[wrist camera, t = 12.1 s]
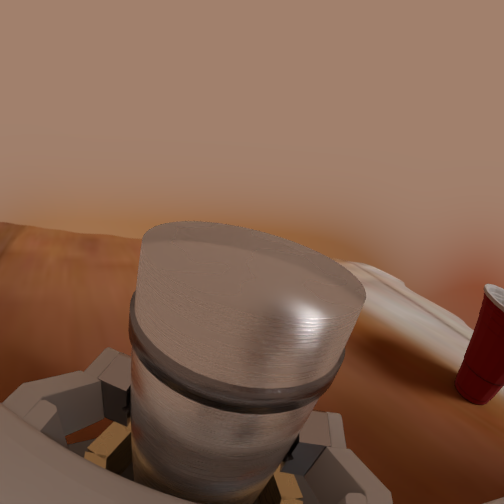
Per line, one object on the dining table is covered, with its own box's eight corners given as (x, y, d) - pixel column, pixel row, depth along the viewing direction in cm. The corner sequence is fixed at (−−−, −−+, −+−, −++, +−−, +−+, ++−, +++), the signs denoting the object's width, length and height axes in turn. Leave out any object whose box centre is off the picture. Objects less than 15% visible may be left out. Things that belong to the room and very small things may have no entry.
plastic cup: (465, 424, 21) (530, 320, 17) (425, 365, 31) (469, 276, 27) (514, 415, 21) (566, 329, 18) (476, 368, 32) (515, 292, 28)
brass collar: (204, 419, 17) (212, 388, 16) (314, 520, 11) (339, 499, 10) (63, 463, 10) (52, 433, 10) (166, 614, 4) (168, 615, 3)
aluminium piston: (200, 443, 14) (259, 223, 10) (267, 510, 10) (400, 292, 7) (113, 475, 10) (105, 217, 7) (177, 561, 7) (252, 358, 3)
